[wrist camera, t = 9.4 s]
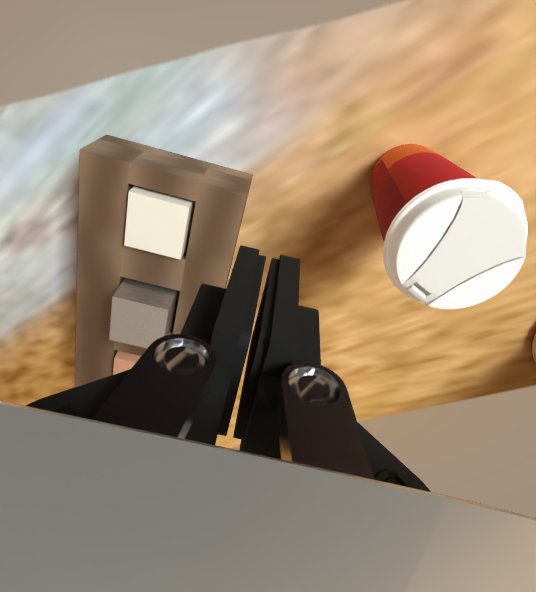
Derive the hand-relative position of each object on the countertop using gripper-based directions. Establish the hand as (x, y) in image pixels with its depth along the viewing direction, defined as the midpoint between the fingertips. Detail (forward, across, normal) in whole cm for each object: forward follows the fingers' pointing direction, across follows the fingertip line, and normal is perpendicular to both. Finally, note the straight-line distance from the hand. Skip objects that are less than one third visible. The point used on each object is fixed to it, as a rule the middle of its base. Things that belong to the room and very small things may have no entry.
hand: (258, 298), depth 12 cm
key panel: (+25, +9, +16) cm, 31 cm away
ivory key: (+23, +8, +8) cm, 26 cm away
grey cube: (+21, +9, +16) cm, 28 cm away
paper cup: (+25, -10, +1) cm, 27 cm away
